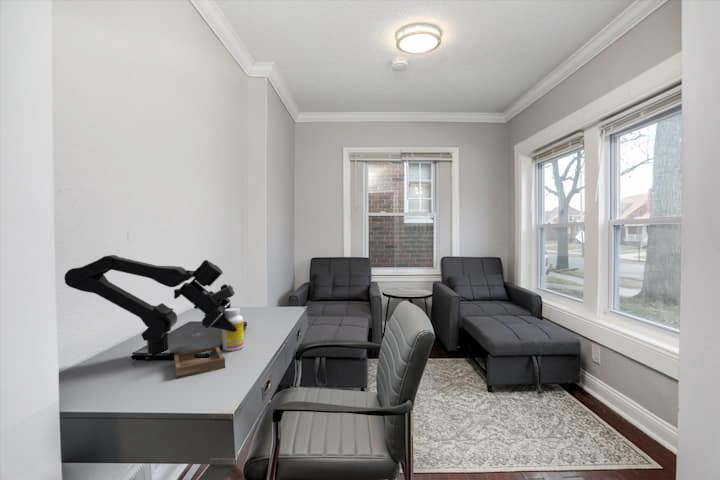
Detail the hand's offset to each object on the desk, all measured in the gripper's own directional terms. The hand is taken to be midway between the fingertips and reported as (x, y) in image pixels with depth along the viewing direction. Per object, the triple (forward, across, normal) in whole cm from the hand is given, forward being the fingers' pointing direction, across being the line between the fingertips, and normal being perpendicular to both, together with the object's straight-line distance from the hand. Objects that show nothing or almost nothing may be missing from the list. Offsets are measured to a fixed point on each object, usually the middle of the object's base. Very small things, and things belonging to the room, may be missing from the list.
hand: (237, 327), depth 108 cm
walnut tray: (-2, -12, +11) cm, 16 cm away
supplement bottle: (+4, 0, +6) cm, 7 cm away
